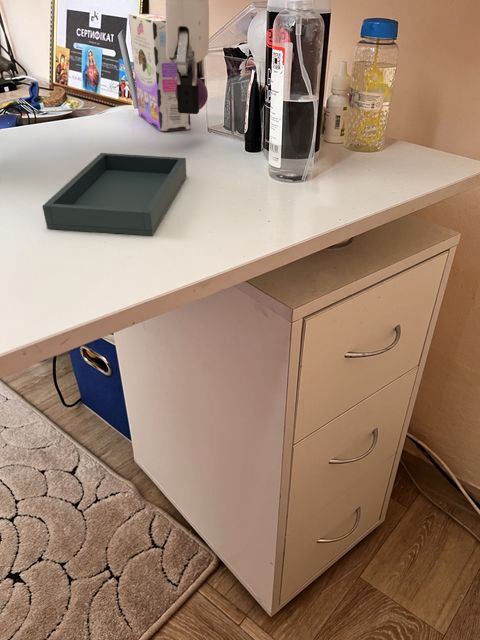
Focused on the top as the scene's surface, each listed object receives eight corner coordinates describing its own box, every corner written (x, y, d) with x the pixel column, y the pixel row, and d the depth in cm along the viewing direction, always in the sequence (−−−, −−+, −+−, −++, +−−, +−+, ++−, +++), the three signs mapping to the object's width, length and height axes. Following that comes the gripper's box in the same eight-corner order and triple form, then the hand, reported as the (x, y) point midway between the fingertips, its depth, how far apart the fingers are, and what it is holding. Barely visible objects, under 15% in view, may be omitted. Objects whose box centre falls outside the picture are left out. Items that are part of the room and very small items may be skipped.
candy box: (192, 130, 93) (188, 20, 84) (160, 132, 91) (152, 20, 81) (166, 112, 103) (160, 12, 93) (136, 114, 101) (127, 12, 91)
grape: (172, 113, 82) (171, 77, 79) (179, 106, 86) (178, 72, 83) (205, 115, 82) (204, 80, 79) (210, 108, 86) (209, 74, 83)
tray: (47, 228, 58) (42, 205, 56) (103, 172, 74) (100, 152, 72) (152, 235, 57) (150, 212, 56) (186, 177, 73) (185, 157, 72)
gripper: (174, -34, 80) (179, 97, 91) (146, -35, 66) (155, 120, 77) (223, -31, 80) (222, 100, 91) (205, -31, 66) (207, 123, 77)
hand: (191, 108), depth 84 cm, fingers closed on grape, 4 cm apart
